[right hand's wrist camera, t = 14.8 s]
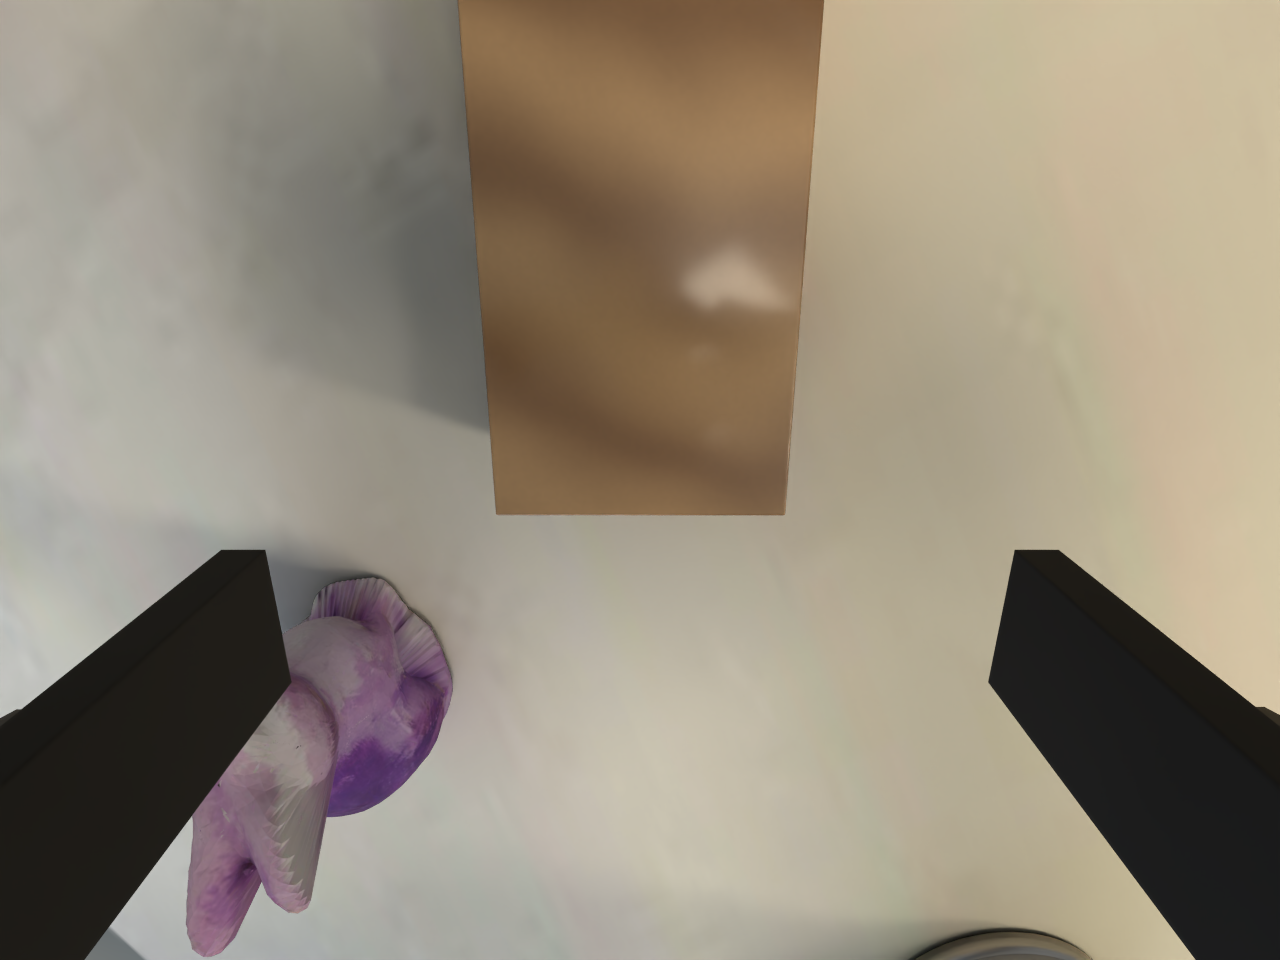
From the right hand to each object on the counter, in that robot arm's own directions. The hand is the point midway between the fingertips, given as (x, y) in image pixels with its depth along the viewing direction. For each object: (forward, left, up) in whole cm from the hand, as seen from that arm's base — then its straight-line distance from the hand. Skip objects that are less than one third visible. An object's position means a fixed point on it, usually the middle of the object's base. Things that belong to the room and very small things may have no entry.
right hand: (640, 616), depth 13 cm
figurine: (+7, +19, -21) cm, 29 cm away
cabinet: (+3, -6, -21) cm, 22 cm away
